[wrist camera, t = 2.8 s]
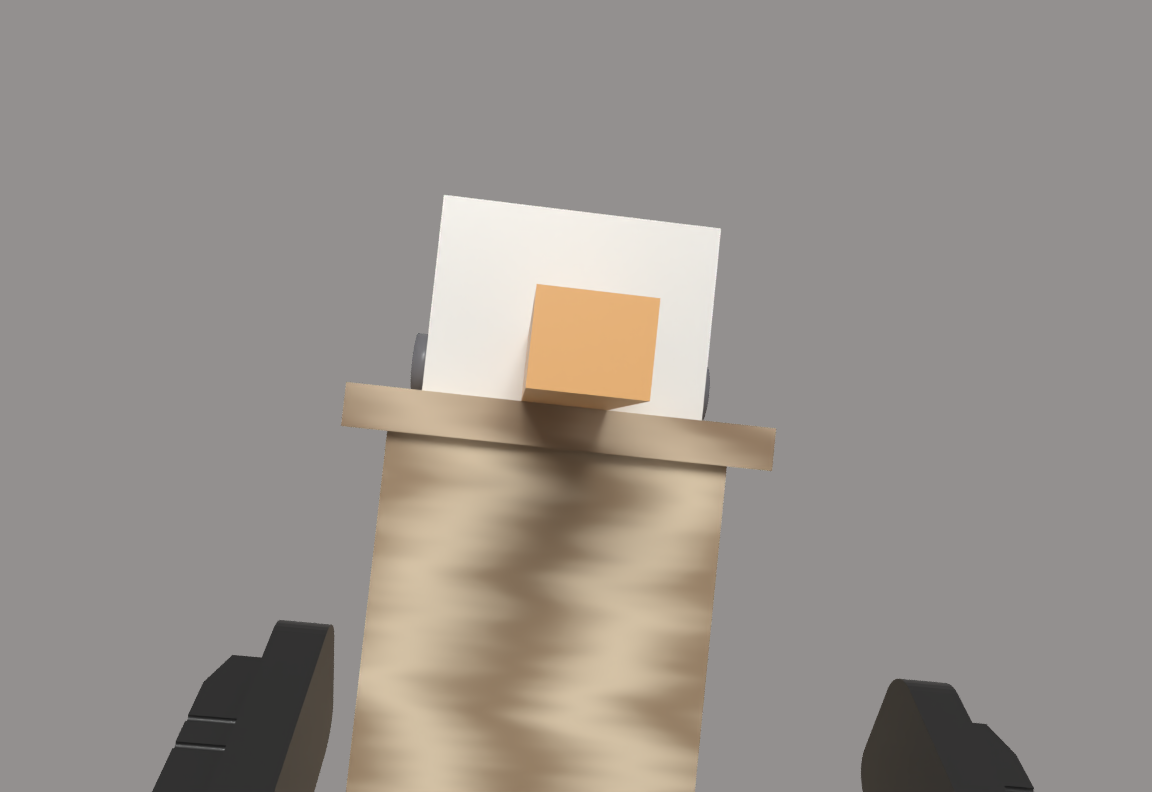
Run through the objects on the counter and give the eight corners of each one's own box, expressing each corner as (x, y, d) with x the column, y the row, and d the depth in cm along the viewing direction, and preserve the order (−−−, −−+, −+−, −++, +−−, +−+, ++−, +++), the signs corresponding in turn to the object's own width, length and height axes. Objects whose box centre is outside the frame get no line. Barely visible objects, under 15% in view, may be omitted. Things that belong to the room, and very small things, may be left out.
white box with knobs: (693, 424, 39) (710, 259, 39) (824, 420, 22) (851, 137, 23) (415, 394, 38) (434, 226, 38) (343, 367, 22) (377, 76, 22)
